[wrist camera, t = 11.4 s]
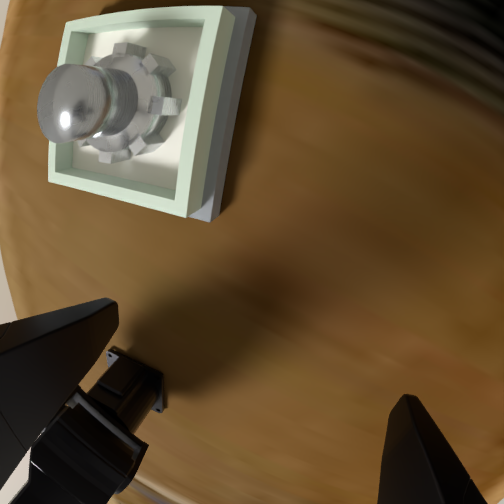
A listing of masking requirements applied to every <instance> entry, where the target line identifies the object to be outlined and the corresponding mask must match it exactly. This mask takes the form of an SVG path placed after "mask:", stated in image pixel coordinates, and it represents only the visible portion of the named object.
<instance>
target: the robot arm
mask: <svg viewBox="0 0 504 504" xmlns="http://www.w3.org/2000/svg"><path fill="white" fill-rule="evenodd" d="M118 325H119V314H118V304H117V302H116V301H114V300H111V299H109V298H101V299H98V300H94V301H90V302H86V303H82V304H79V305H75V306H71V307H67V308H63V309H59V310H55V311H51V312H48V313H44V314H40V315H36V316H32V317H28V318H24V319H20V320H17V321H13V322H11V323H10V322H9V323H5V324H1V325H0V490H1V489H2V487H3V486H4V484H5V483H6V481H7V480H8V478H9V477H10V475H11V474H12V473H13V471H14V470H15V468H16V467H17V466H18V464H19V463H20V461H21V460H22V458H23V457H24V456H25V454H26V453H27V451H28V450H29V449H30V447H31V452H30V464H29V478H28V480H27V482H26V483H25V484H24V485H23V487H22V488H21V489H20V490H19V491H18V493H17V494H16V495H15V496H14V497H13V499H12V500H11V501H10V502H9V503H8V504H107V502H108V501H109V499H110V498H111V497H112V495H113V494H119V493H120V492H122V491H123V490H124V489H125V488H126V487H127V486H128V485H129V484H130V482H131V481H132V479H133V478H134V476H135V474H136V472H137V470H138V468H139V466H140V464H141V461H142V459H143V457H144V455H145V453H146V450H147V448H148V446H149V445H148V444H147V443H145V442H143V441H141V440H140V439H139V438H138V437H136V436H135V435H134V433H135V432H136V430H137V429H138V427H139V426H140V424H141V423H142V422H143V420H144V419H145V417H146V416H147V414H148V413H149V411H150V410H153V411H156V412H158V413H162V412H163V411H164V376H163V374H162V373H160V372H158V371H156V370H154V369H152V368H149V367H147V366H145V365H143V364H141V363H138V362H136V361H134V360H132V359H130V358H128V357H126V356H124V355H122V354H120V353H118V352H116V351H114V350H111V349H109V350H108V351H107V352H106V356H107V363H108V369H107V370H106V371H105V373H104V374H103V375H102V376H101V377H100V378H99V379H98V380H97V382H96V383H95V385H94V386H93V387H92V388H91V389H90V390H89V391H88V392H87V393H85V392H84V391H83V390H82V389H81V387H80V386H79V385H78V384H79V383H80V382H81V380H82V379H83V378H84V376H85V375H86V374H87V373H88V371H89V370H90V369H91V368H92V366H93V365H94V364H95V362H96V361H97V359H98V358H99V356H100V355H101V353H102V352H103V350H104V349H105V347H106V345H107V344H108V342H109V341H110V339H111V338H112V336H113V335H114V333H115V332H116V330H117V328H118ZM67 405H68V406H67ZM40 434H41V435H40ZM39 435H40V436H39ZM38 436H39V437H38ZM36 439H37V440H36ZM35 440H36V441H35ZM377 504H488V503H487V502H486V501H485V499H484V498H483V496H482V495H481V493H480V491H479V490H478V488H477V487H476V485H475V484H474V482H473V480H472V479H470V476H469V474H468V473H467V471H466V469H465V468H464V466H463V465H462V463H461V461H460V460H459V458H458V457H457V455H456V454H455V452H454V451H453V449H452V448H451V446H450V444H449V443H448V441H447V440H446V438H445V437H444V435H443V434H442V432H441V431H440V429H439V428H438V426H437V425H436V423H435V422H434V420H433V419H432V417H431V416H430V415H429V413H428V412H427V410H426V409H425V407H424V406H423V404H422V403H421V401H420V400H419V399H418V397H417V396H415V395H410V394H404V395H402V397H401V398H400V399H399V401H398V402H397V404H396V405H395V406H394V408H393V409H392V410H391V412H390V415H389V419H388V425H387V432H386V438H385V444H384V449H383V455H382V462H381V472H380V484H379V493H378V502H377Z"/></svg>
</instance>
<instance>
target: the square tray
mask: <svg viewBox="0 0 504 504" xmlns="http://www.w3.org/2000/svg"><path fill="white" fill-rule="evenodd" d="M256 17H257V15H256V14H255V13H254V12H253V10H252V9H251V8H250V7H231V6H178V7H161V8H149V9H140V10H131V11H124V12H117V13H110V14H104V15H99V16H93V17H88V18H83V19H79V20H74V21H70V22H66V25H65V30H64V34H63V39H62V44H61V49H60V54H59V59H58V65H57V67H58V66H60V65H63V64H77V65H84V64H85V63H86V62H87V61H88V60H89V58H90V57H91V56H95V57H101V58H104V57H106V56H108V55H111V54H112V52H113V47H114V43H124V42H129V43H132V44H136V45H139V46H143V47H146V53H145V57H146V56H147V55H148V54H149V53H152V54H155V55H159V56H162V57H165V58H168V59H169V60H170V61H171V63H172V64H173V66H174V67H175V68H176V71H175V72H173V73H172V74H171V75H170V76H169V77H168V79H169V82H170V86H171V92H172V98H179V99H182V103H181V109H180V115H169V116H168V119H167V121H166V123H165V125H164V127H163V128H162V130H161V131H160V133H159V134H160V136H161V137H162V139H163V140H164V142H165V143H163V144H162V145H161V146H160V147H159V148H158V149H157V150H155V151H154V152H152V153H147V154H142V155H137V156H134V154H133V153H132V151H131V156H130V159H129V160H125V161H121V162H116V163H112V164H109V163H103V162H99V150H97V149H95V148H94V147H92V146H91V145H89V146H84V147H80V146H79V144H78V142H77V141H71V142H66V143H53V142H51V141H50V140H49V160H48V181H49V182H52V183H56V184H60V185H64V186H68V187H72V188H76V189H80V190H84V191H87V192H91V193H95V194H99V195H103V196H106V197H110V198H114V199H118V200H122V201H125V202H129V203H133V204H137V205H140V206H144V207H148V208H152V209H155V210H159V211H163V212H166V213H170V214H174V215H177V216H181V217H185V218H186V217H192V218H196V219H199V220H203V221H207V222H211V221H213V220H214V219H215V218H217V217H218V216H219V213H220V206H221V200H222V194H223V188H224V182H225V176H226V170H227V165H228V159H229V153H230V147H231V142H232V136H233V131H234V125H235V120H236V115H237V109H238V104H239V99H240V94H241V89H242V84H243V79H244V74H245V69H246V64H247V59H248V54H249V50H250V45H251V40H252V35H253V31H254V26H255V22H256Z"/></svg>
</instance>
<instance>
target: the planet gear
mask: <svg viewBox="0 0 504 504" xmlns="http://www.w3.org/2000/svg"><path fill="white" fill-rule="evenodd" d="M145 53H146V47H143V46H139V45H136V44H132V43H129V42H124V43H114V47H113V52H112V54H111V55H108V56H106V57H104V58H101V57H95V56H91V57H90V58H89V60H88V61H87V62H86V63H85V64H84V65H77V64H63V65H60V66H58V67H57V68H55V69H54V70H53V71H52V72H51V73H50V74H49V75H48V76H47V78H46V80H45V81H44V83H43V85H42V88H41V90H40V94H39V98H38V105H37V115H38V121H39V125H40V128H41V130H42V132H43V134H44V135H45V137H46V138H47V139H48V140H50V141H51V142H53V143H66V142H71V141H77V142H78V144H79V146H80V147H84V146H89V145H91V146H92V147H94V148H95V149H97V150H99V162H103V163H109V164H112V163H116V162H121V161H125V160H129V159H130V156H131V151H132V153H133V154H134V156H137V155H142V154H147V153H152V152H154V151H155V150H157V149H158V148H159V147H160V146H161V145H162V144H163V143H165V142H164V140H163V139H162V137H161V136H160V134H159V133H160V131H161V130H162V128H163V127H164V125H165V123H166V121H167V119H168V116H169V115H180V109H181V103H182V99H179V98H172V92H171V86H170V82H169V79H168V77H169V76H170V75H171V74H172V73H173V72H175V71H176V68H175V67H174V66H173V64H172V63H171V61H170V60H169V59H168V58H165V57H162V56H159V55H155V54H152V53H149V54H148V55H147V56H146V57H145Z"/></svg>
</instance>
